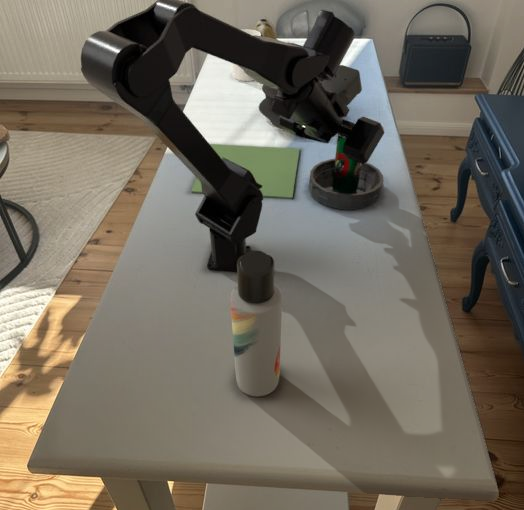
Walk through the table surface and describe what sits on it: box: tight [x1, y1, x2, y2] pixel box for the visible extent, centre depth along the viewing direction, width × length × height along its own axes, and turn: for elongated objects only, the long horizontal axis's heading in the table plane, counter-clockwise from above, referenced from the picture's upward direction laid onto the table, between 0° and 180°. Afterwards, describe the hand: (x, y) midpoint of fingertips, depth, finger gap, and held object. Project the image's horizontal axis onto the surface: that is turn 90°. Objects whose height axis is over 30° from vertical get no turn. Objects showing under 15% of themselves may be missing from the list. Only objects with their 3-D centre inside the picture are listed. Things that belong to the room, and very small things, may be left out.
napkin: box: [190, 143, 301, 199], centre depth 101 cm, size 20×20×1 cm
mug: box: [230, 28, 261, 82], centre depth 133 cm, size 12×8×10 cm
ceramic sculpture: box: [253, 16, 278, 40], centre depth 146 cm, size 11×9×15 cm
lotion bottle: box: [230, 250, 283, 397], centre depth 56 cm, size 6×6×20 cm
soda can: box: [332, 129, 362, 194], centre depth 90 cm, size 5×5×12 cm
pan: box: [308, 158, 384, 210], centre depth 94 cm, size 14×14×3 cm
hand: (346, 148), depth 88 cm, fingers open, 9 cm apart
